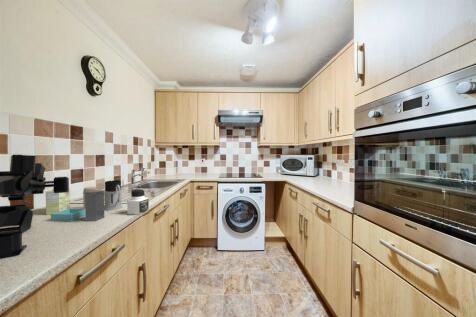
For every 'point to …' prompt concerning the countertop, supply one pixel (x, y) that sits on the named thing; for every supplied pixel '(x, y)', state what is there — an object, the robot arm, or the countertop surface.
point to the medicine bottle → (137, 202)
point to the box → (56, 202)
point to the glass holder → (113, 195)
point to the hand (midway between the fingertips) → (46, 187)
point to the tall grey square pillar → (94, 205)
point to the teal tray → (68, 214)
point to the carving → (87, 191)
